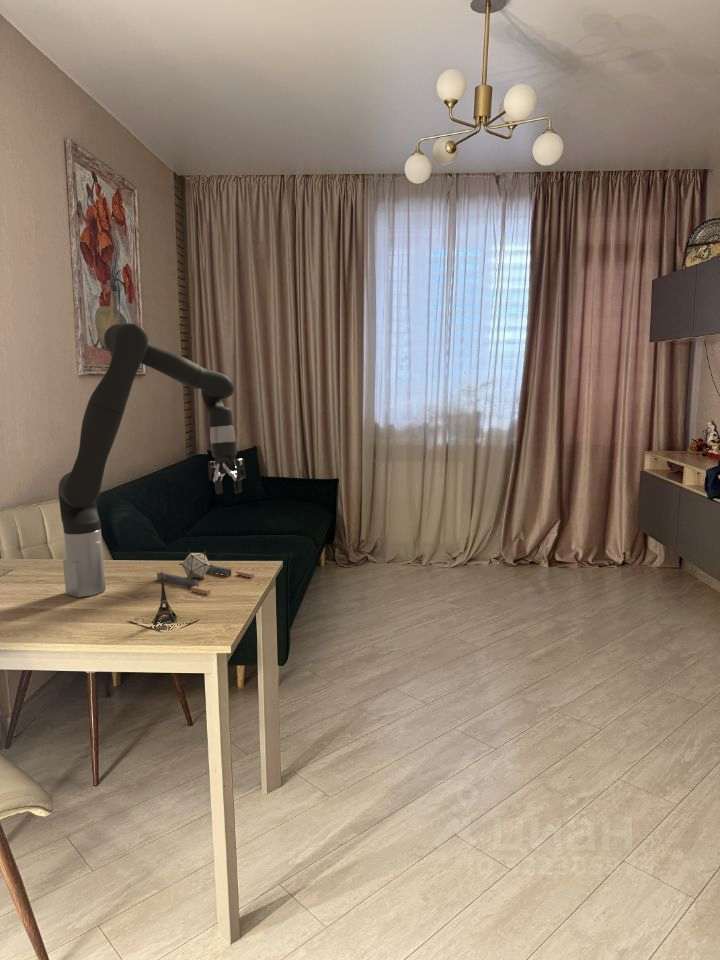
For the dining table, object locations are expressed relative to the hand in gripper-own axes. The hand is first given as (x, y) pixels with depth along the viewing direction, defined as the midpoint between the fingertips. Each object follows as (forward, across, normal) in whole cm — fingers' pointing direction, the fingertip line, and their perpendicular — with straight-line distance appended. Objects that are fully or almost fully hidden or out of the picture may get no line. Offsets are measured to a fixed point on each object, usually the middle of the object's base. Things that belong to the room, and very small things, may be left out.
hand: (228, 493), depth 195 cm
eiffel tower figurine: (+27, +20, -43) cm, 55 cm away
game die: (+23, 0, -16) cm, 28 cm away
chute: (+23, 0, -16) cm, 28 cm away
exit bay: (+24, +11, -16) cm, 31 cm away
